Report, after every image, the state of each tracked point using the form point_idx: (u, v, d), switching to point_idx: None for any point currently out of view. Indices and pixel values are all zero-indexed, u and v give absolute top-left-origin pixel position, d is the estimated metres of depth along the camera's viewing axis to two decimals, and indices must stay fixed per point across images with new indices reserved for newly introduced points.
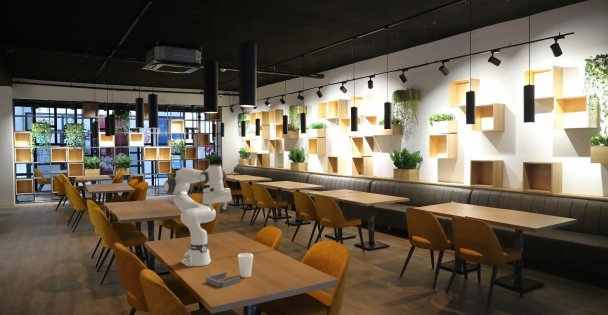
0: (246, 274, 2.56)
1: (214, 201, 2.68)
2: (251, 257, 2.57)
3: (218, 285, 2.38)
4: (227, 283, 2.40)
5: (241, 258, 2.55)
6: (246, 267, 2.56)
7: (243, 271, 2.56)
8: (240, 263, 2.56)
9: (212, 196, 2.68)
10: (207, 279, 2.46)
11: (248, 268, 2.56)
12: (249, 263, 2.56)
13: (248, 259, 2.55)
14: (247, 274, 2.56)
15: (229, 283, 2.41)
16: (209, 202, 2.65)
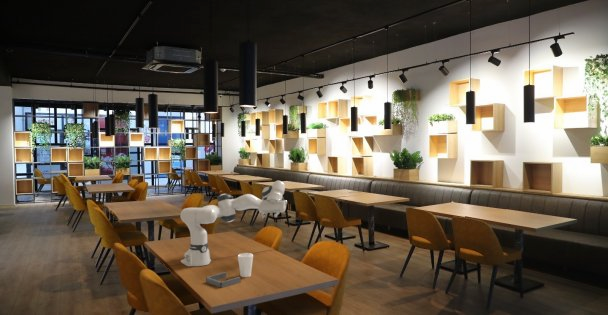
0: (246, 274, 2.56)
1: (266, 208, 2.86)
2: (251, 257, 2.57)
3: (218, 285, 2.38)
4: (227, 283, 2.40)
5: (241, 258, 2.55)
6: (246, 267, 2.56)
7: (243, 271, 2.56)
8: (240, 263, 2.56)
9: (265, 204, 2.89)
10: (207, 279, 2.46)
11: (248, 268, 2.56)
12: (249, 263, 2.56)
13: (248, 259, 2.55)
14: (247, 274, 2.56)
15: (229, 283, 2.41)
16: (261, 209, 2.87)
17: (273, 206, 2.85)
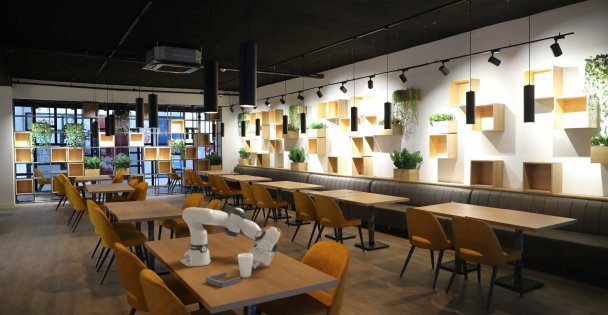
0: (246, 274, 2.56)
1: None
2: (251, 257, 2.57)
3: (218, 285, 2.38)
4: (227, 283, 2.40)
5: (241, 258, 2.55)
6: (246, 267, 2.55)
7: (243, 271, 2.56)
8: (240, 263, 2.56)
9: (254, 252, 2.69)
10: (207, 279, 2.46)
11: (248, 268, 2.56)
12: (249, 263, 2.56)
13: (248, 259, 2.55)
14: (247, 274, 2.56)
15: (229, 283, 2.41)
16: None
17: (259, 256, 2.64)
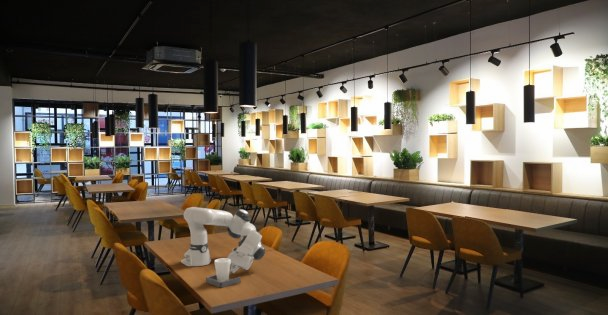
0: (223, 280, 2.45)
1: (232, 261, 2.56)
2: (228, 262, 2.45)
3: (218, 285, 2.38)
4: (227, 283, 2.40)
5: (217, 263, 2.43)
6: (223, 273, 2.44)
7: (220, 277, 2.44)
8: (217, 269, 2.44)
9: (233, 256, 2.58)
10: (207, 279, 2.46)
11: (225, 274, 2.45)
12: (226, 269, 2.45)
13: (225, 265, 2.44)
14: (224, 280, 2.45)
15: (229, 283, 2.41)
16: None
17: (238, 260, 2.53)
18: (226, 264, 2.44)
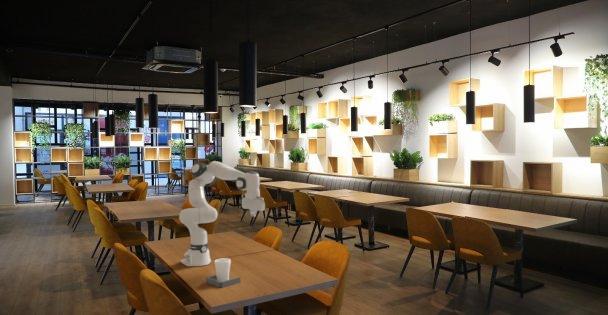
0: (223, 280, 2.45)
1: (247, 207, 2.79)
2: (228, 262, 2.45)
3: (218, 285, 2.38)
4: (227, 283, 2.40)
5: (217, 263, 2.43)
6: (223, 273, 2.44)
7: (220, 277, 2.44)
8: (217, 269, 2.44)
9: (246, 202, 2.80)
10: (207, 279, 2.46)
11: (225, 274, 2.45)
12: (226, 269, 2.45)
13: (225, 265, 2.44)
14: (224, 280, 2.45)
15: (229, 283, 2.41)
16: (244, 207, 2.82)
17: (253, 205, 2.75)
18: (226, 264, 2.44)
